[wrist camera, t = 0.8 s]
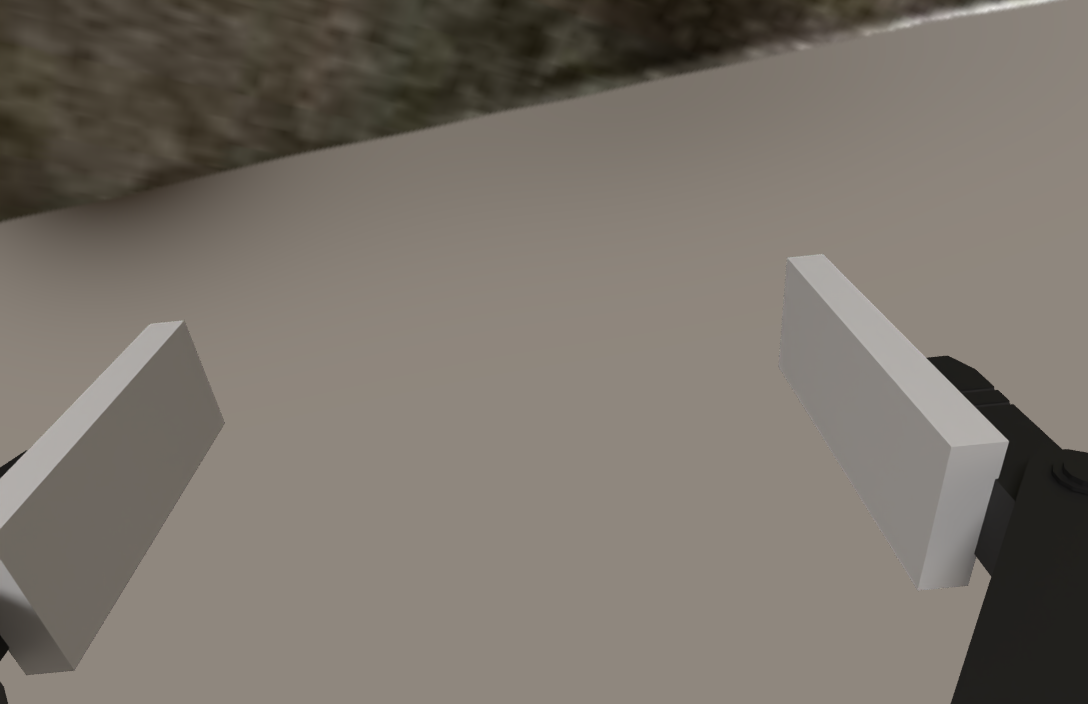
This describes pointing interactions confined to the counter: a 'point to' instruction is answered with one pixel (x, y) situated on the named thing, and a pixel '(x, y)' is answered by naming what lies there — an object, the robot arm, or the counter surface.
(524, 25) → the counter surface
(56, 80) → the counter surface
